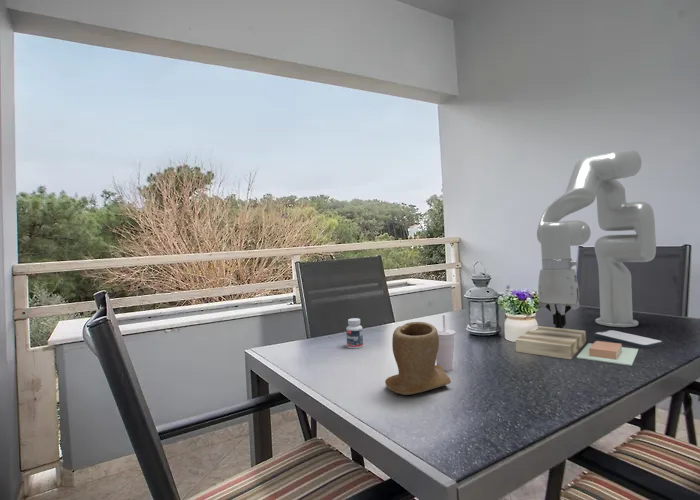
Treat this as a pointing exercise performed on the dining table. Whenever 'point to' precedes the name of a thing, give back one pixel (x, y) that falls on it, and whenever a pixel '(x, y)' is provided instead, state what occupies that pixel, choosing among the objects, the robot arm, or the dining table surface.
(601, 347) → the tile
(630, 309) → the robot arm
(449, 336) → the smoothie
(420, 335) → the stone cup
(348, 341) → the pill bottle
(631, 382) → the dining table surface
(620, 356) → the mat
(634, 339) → the phone case
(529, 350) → the block
